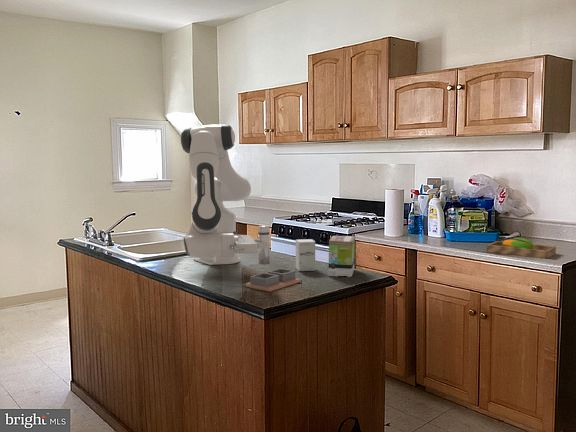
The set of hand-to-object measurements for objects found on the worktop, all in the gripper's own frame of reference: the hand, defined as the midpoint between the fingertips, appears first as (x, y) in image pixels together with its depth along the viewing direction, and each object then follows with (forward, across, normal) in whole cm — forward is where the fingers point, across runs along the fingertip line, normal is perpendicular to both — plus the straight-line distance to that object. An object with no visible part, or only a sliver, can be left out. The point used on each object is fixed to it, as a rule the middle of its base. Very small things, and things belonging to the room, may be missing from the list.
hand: (266, 243), depth 200 cm
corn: (+130, +40, +16) cm, 137 cm away
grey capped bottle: (-1, 0, +8) cm, 8 cm away
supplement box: (+21, +26, +17) cm, 37 cm away
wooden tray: (+132, +38, +16) cm, 138 cm away
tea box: (+34, +16, +17) cm, 41 cm away
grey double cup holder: (+3, +3, +16) cm, 17 cm away
